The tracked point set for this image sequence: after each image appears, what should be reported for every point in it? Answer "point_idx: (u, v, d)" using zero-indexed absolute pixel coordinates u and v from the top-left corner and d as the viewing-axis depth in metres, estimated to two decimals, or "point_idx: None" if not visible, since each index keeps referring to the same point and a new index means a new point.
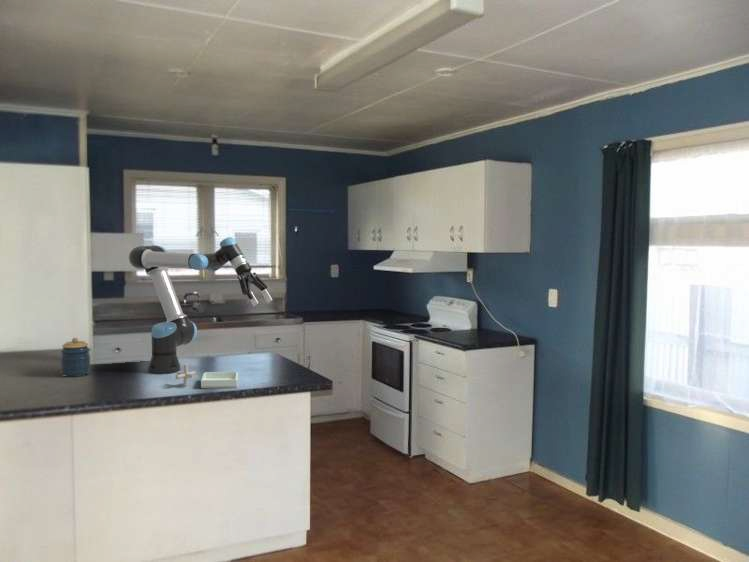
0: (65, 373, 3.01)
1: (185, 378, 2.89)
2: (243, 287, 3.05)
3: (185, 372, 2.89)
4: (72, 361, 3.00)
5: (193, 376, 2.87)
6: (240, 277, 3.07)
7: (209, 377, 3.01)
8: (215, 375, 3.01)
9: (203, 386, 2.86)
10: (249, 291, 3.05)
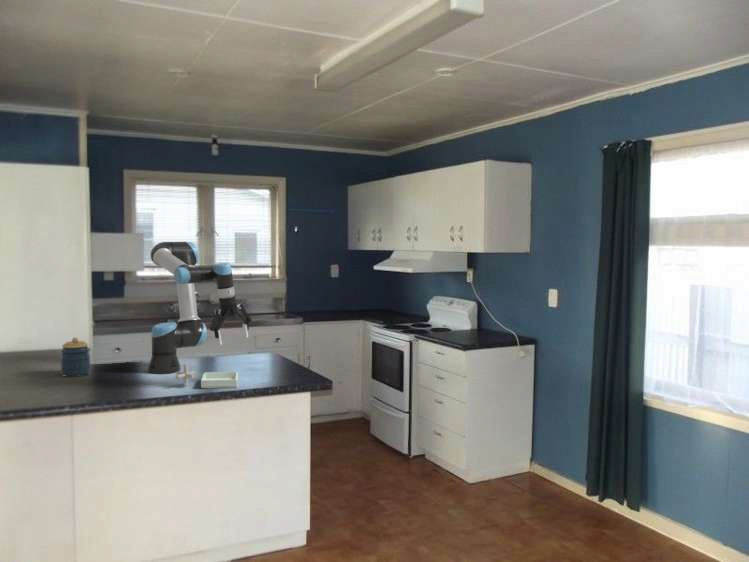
0: (65, 373, 3.01)
1: (185, 378, 2.89)
2: (212, 325, 2.91)
3: (185, 372, 2.89)
4: (72, 361, 3.00)
5: (193, 376, 2.87)
6: (215, 312, 2.92)
7: (209, 377, 3.01)
8: (215, 375, 3.01)
9: (203, 386, 2.86)
10: (216, 331, 2.92)
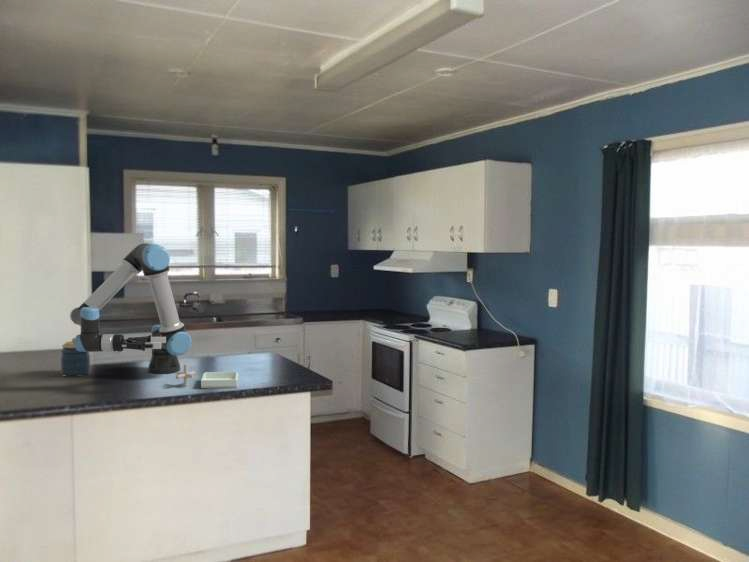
0: (65, 373, 3.01)
1: (185, 378, 2.89)
2: None
3: (185, 372, 2.89)
4: (72, 361, 3.00)
5: (193, 376, 2.87)
6: None
7: (209, 377, 3.01)
8: (215, 375, 3.01)
9: (203, 386, 2.86)
10: (150, 342, 2.94)
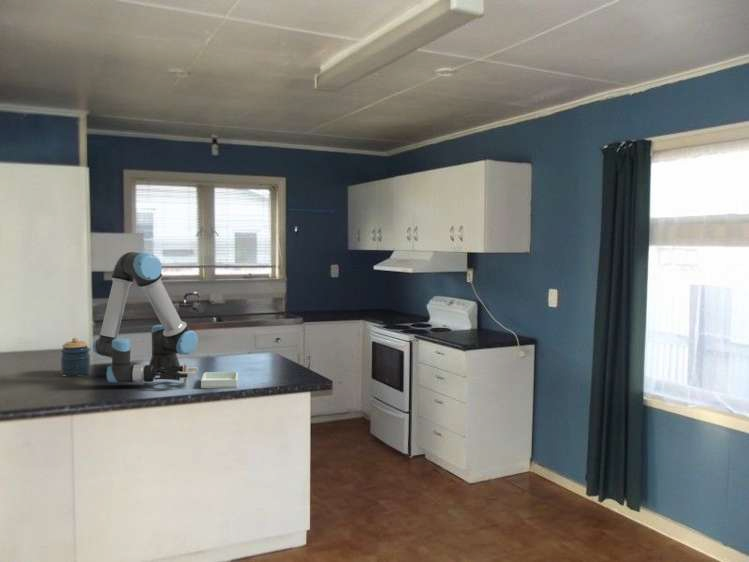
0: (65, 373, 3.01)
1: (185, 378, 2.89)
2: None
3: None
4: (72, 361, 3.00)
5: None
6: None
7: (209, 377, 3.01)
8: (215, 375, 3.01)
9: (203, 386, 2.86)
10: None
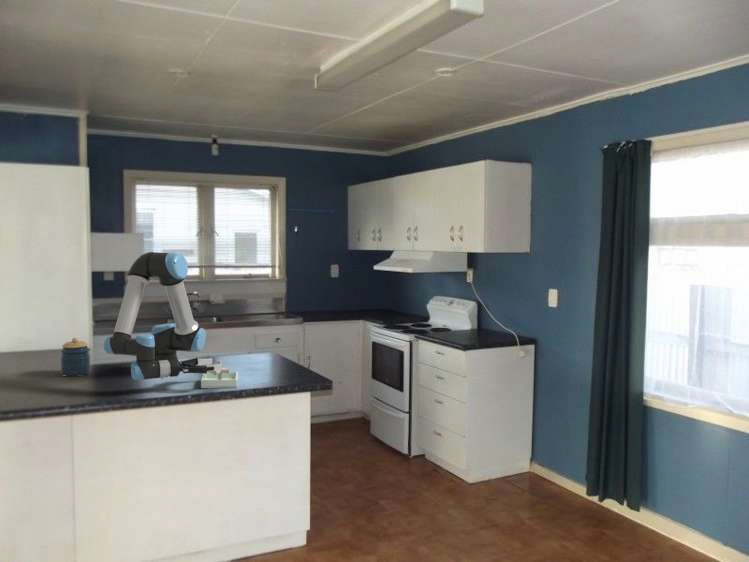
0: (65, 373, 3.01)
1: (220, 374, 2.94)
2: None
3: None
4: (72, 361, 3.00)
5: (229, 371, 2.94)
6: None
7: (209, 377, 3.01)
8: (215, 375, 3.01)
9: (203, 386, 2.86)
10: (196, 364, 2.97)
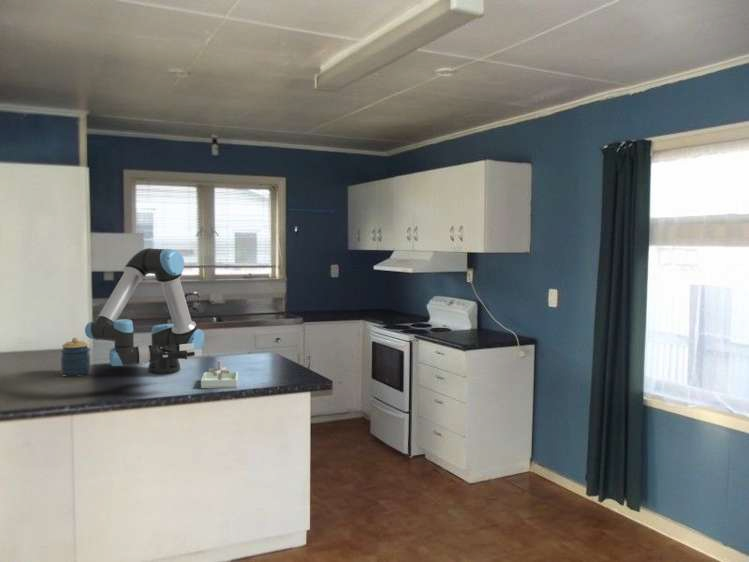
0: (65, 373, 3.01)
1: (220, 374, 2.94)
2: None
3: (220, 368, 2.93)
4: (72, 361, 3.00)
5: (230, 371, 2.93)
6: None
7: (209, 377, 3.01)
8: None
9: (203, 386, 2.86)
10: (178, 349, 2.92)
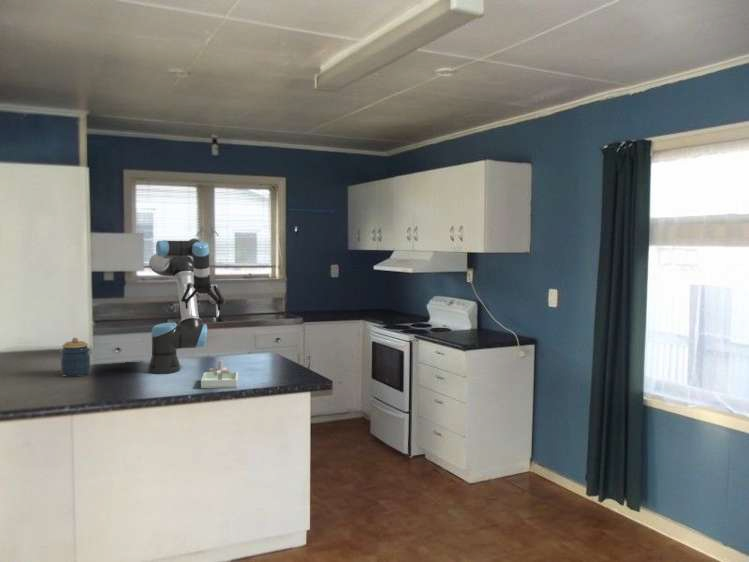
0: (65, 373, 3.01)
1: (220, 374, 2.94)
2: (183, 296, 3.07)
3: (220, 368, 2.94)
4: (72, 361, 3.00)
5: (230, 372, 2.93)
6: None
7: (209, 377, 3.01)
8: None
9: (203, 386, 2.86)
10: (185, 302, 3.08)
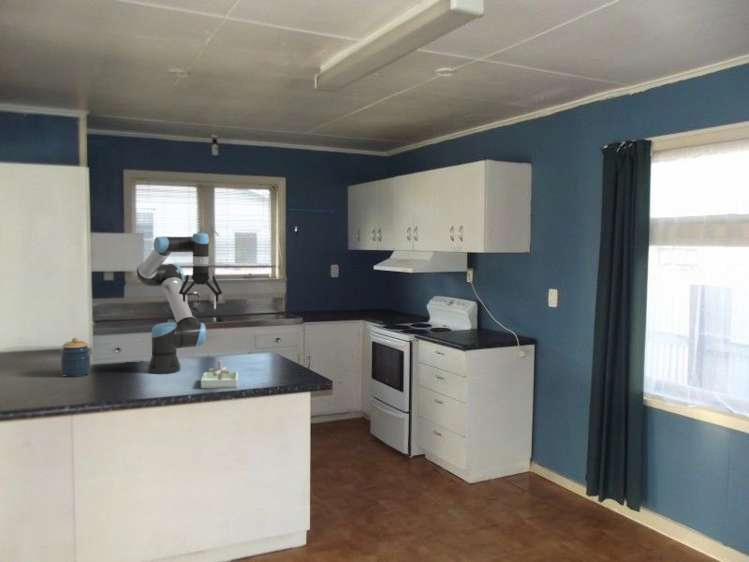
0: (65, 373, 3.01)
1: (220, 374, 2.94)
2: (181, 288, 3.11)
3: (220, 368, 2.93)
4: (72, 361, 3.00)
5: (230, 372, 2.93)
6: (186, 277, 3.11)
7: (209, 377, 3.01)
8: None
9: (203, 386, 2.86)
10: (183, 295, 3.11)
